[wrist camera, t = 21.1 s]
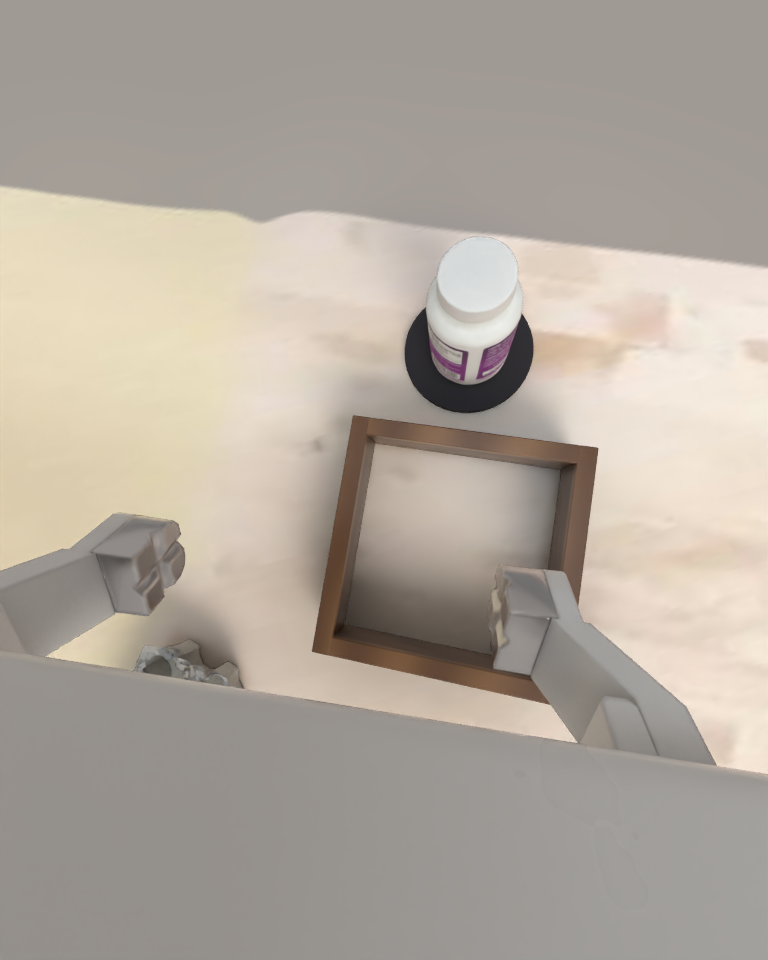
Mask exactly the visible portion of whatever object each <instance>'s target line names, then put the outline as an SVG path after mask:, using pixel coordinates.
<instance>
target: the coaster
mask: <svg viewBox="0 0 768 960" xmlns="http://www.w3.org/2000/svg"><path fill="white" fill-rule="evenodd" d="M532 358H533V338H532V334H531V330H530V328H529V325H528V323H527V321H526V319H525V318H524V316H523V315H522V314H521V318H520V320H519V323H518V326H517V329H516V332H515V335H514V338H513V341H512V344H511V347H510V349H509V352H508V355H507V358H506V360H505V362H504V364H503V366H502V367H501V369H500V370H499V371H498V372H497V373H496V374H495V375H494V376H493V377H491V378H490V379H488V380H486V381H484V382H481V383H478V384H472V385H463V384H459V383H456V382H453V381H451V380H449V379H447V378H446V377H444V376H443V375H442V374H441V373H440V372H439V371H438V369H437V368H436V366H435V364H434V362H433V359H432V355H431V349H430V340H429V331H428V321H427V314H426V308H424V309H423V310H422V311H421V313H420V314H419V315H418V316H417V318H416V319H415V321H414V322H413V324H412V326H411V328H410V330H409V333H408V336H407V339H406V345H405V362H406V366H407V371H408V373H409V376H410V378H411V380H412V382H413V384H414V386H415V387H416V388H417V390H418V391H419V392H420V393H421V394H422V395H423V396H424V397H425V398H426V399H427V400H429V401H430V402H432V403H433V404H435V405H437V406H439V407H441V408H443V409H446V410H450V411H454V412H461V413H471V412H479V411H483V410H487V409H490V408H492V407H495V406H497V405H499V404H501V403H502V402H504V401H505V400H507V399H508V398H509V397H510V396H512V395H513V394H514V393H515V392H516V391H517V389H518V388H519V387H520V386H521V384H522V383H523V381H524V380H525V378H526V376H527V374H528V372H529V369H530V366H531V363H532Z"/></svg>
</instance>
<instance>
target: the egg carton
mask: <svg viewBox="0 0 768 960" xmlns="http://www.w3.org/2000/svg"><path fill="white" fill-rule="evenodd" d="M199 649H200V646H199V645H198V644H197V643H195V642H193V641H192V640H190V639H188V640H186V641H184V642H182V643H180V644H178V645H175V646H168V647H165V648H161V647H156V646H151V645H145V646H144V647H143V650H142V652H141V654H140V656H139V658H138V660H137V662H136V667H135V669H134V670H133V671H135V672H141V673H148V674H154V675H160V676H166V677H172V678H179V679H185V680H191V681H197V682H203V683H209V684H216V685H222V686H228V687H234V688H240V689H244V688H243V687H242V685H241V684H240V681H239V678H238V675H239V671H238V667H236V666H235V665H233V664H231V663H230V662H229V661H227V662H226V663H225V664H223V665H222V666H220V667H218V668H216V669H211V668H208V667H207V666H206V665H204V664H203V662H202V659H201V658H200V654H199Z"/></svg>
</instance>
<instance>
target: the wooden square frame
mask: <svg viewBox="0 0 768 960" xmlns="http://www.w3.org/2000/svg"><path fill="white" fill-rule="evenodd" d="M375 443H377V444H384V445H391V446H398V447H405V448H412V449H419V450H426V451H433V452H440V453H447V454H454V455H461V456H468V457H475V458H482V459H489V460H496V461H503V462H511V463H518V464H525V465H532V466H539V467H546V468H553V469H560V470H561V469H562V470H561V477H560V485H559V492H558V500H557V507H556V514H555V522H554V529H553V537H552V544H551V551H550V559H549V566H548V570H555V571H563V572H564V573H565V574H566V575H567V578H568V581H569V584H570V586H571V589H572V592H573V594H574V597H575V600H576V602H577V605H578V603H579V595H580V587H581V579H582V572H583V564H584V556H585V548H586V541H587V533H588V525H589V517H590V510H591V502H592V494H593V487H594V479H595V471H596V463H597V456H598V448H596V447H588V446H579V445H573V444H565V443H558V442H550V441H542V440H535V439H527V438H520V437H512V436H505V435H497V434H490V433H482V432H475V431H467V430H460V429H452V428H444V427H437V426H429V425H422V424H414V423H407V422H399V421H392V420H384V419H377V418H369V417H362V416H355V415H353V419H352V424H351V430H350V436H349V442H348V447H347V453H346V459H345V465H344V470H343V476H342V482H341V487H340V493H339V499H338V505H337V510H336V516H335V522H334V528H333V533H332V539H331V545H330V551H329V556H328V562H327V568H326V573H325V579H324V585H323V591H322V596H321V602H320V608H319V614H318V619H317V625H316V631H315V636H314V642H313V648H312V652H316V653H320V654H325V655H330V656H334V657H339V658H343V659H348V660H352V661H357V662H361V663H365V664H370V665H374V666H379V667H383V668H388V669H392V670H397V671H401V672H406V673H410V674H415V675H419V676H424V677H428V678H433V679H437V680H442V681H446V682H451V683H455V684H460V685H464V686H469V687H473V688H478V689H482V690H487V691H491V692H496V693H500V694H505V695H509V696H513V697H518V698H522V699H527V700H531V701H536V702H540V703H545V704H549V705H550V703H549V702H548V701H547V699H546V698H545V696H544V695H543V694H542V692H541V691H540V689H539V688H538V687H537V685H536V684H535V683H534V681H533V680H532V678H531V675H526V674H521V673H515V672H510V671H504V670H498V669H493V661H492V655H487V654H483V653H478V652H473V651H468V650H464V649H459V648H454V647H449V646H445V645H440V644H435V643H430V642H426V641H421V640H416V639H411V638H407V637H402V636H397V635H392V634H388V633H383V632H378V631H373V630H369V629H364V628H359V627H354V626H350V625H344V623H345V617H346V611H347V605H348V600H349V594H350V588H351V582H352V576H353V570H354V564H355V558H356V552H357V547H358V541H359V535H360V529H361V523H362V517H363V511H364V505H365V499H366V493H367V488H368V482H369V476H370V470H371V464H372V458H373V452H374V446H375Z"/></svg>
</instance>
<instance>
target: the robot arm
mask: <svg viewBox="0 0 768 960" xmlns="http://www.w3.org/2000/svg"><path fill="white" fill-rule="evenodd" d="M180 535H181V532H180V528H179V524H178V523H177V522H175V521H173V520H167V519H160V518H154V517H148V516H141V515H133V514H127V513H115V514H112V515H111V516H110V517H109V518H107V519H106V520H105V521H104V522H102V523H101V524H100V525H99V526H97V527H96V528H95V529H94V530H93V531H91V532H90V533H89V534H88V535H86V536H85V537H84V538H83V539H81V540H80V541H79V542H78V543H76V544H75V545H74V546H73V547H71V548H70V549H69V550H68V549H61V550H58V551H55V552H52V553H50V554H47V555H44V556H41V557H38V558H36V559H33V560H30V561H27V562H24V563H21V564H19V565H16V566H13V567H10V568H7V569H4V570H2V571H0V960H768V774H763V773H757V772H751V771H745V770H739V769H732V768H726V767H720V766H717V765H716V763H715V761H714V759H713V757H712V755H711V754H710V752H709V750H708V748H707V746H706V744H705V742H704V740H703V738H702V736H701V734H700V732H699V730H698V728H697V726H696V724H695V723H694V721H693V719H692V717H691V715H690V713H689V711H688V709H687V707H686V706H685V705H684V704H683V703H681V702H680V701H679V700H678V699H677V698H676V697H675V696H673V695H672V694H671V693H670V692H669V691H668V690H666V689H665V688H664V687H663V686H662V685H661V684H660V683H658V682H657V681H656V680H655V679H654V678H653V677H652V676H650V675H649V674H648V673H647V672H646V671H645V670H643V669H642V668H641V667H640V666H639V665H638V664H637V663H635V662H634V661H633V660H632V659H631V658H630V657H628V656H627V655H626V654H625V653H624V652H623V651H622V650H620V649H619V648H618V647H617V646H616V645H615V644H614V643H612V642H611V641H610V640H609V639H608V638H607V637H605V636H604V635H603V634H602V633H601V632H600V631H599V630H597V629H596V628H595V627H594V626H593V625H592V624H590V623H584V621H583V618H582V616H581V613H580V610H579V608H578V605H577V602H576V600H575V597H574V594H573V592H572V589H571V586H570V584H569V581H568V578H567V575H566V574H565V573H564V572H563V571H555V570H545V569H541V570H540V569H532V568H524V567H517V566H509V565H501V564H499V566H498V568H497V571H496V575H495V581H496V588H495V589H493V590H492V591H491V595H490V600H489V607H488V626H489V630H490V631H491V633H492V634H493V637H492V641H491V653H492V661H493V669H498V670H504V671H510V672H515V673H521V674H526V675H531V678H532V680H533V681H534V683H535V684H536V685H537V687H538V688H539V689H540V691H541V692H542V694H543V695H544V696H545V698H546V699H547V701H548V702H549V703H550V705H551V706H552V707H553V709H554V710H555V712H556V713H557V714H558V716H559V717H560V719H561V720H562V721H563V723H564V724H565V725H566V727H567V728H568V730H569V731H570V732H571V734H572V735H573V737H574V738H575V739H576V741H577V742H578V743H572V742H566V741H560V740H554V739H548V738H542V737H536V736H529V735H523V734H517V733H511V732H505V731H499V730H492V729H486V728H480V727H474V726H468V725H462V724H456V723H449V722H443V721H437V720H431V719H425V718H419V717H412V716H406V715H400V714H394V713H388V712H382V711H376V710H369V709H363V708H357V707H351V706H345V705H339V704H332V703H326V702H320V701H314V700H308V699H302V698H296V697H289V696H283V695H277V694H271V693H265V692H259V691H253V690H246V689H240V688H234V687H228V686H222V685H216V684H209V683H203V682H197V681H191V680H185V679H179V678H172V677H166V676H160V675H154V674H148V673H141V672H135V671H129V670H123V669H117V668H111V667H104V666H98V665H92V664H86V663H80V662H74V661H67V660H61V659H55V658H49V657H45V656H47V655H48V654H50V653H52V652H53V651H55V650H57V649H58V648H60V647H61V646H63V645H65V644H66V643H68V642H70V641H71V640H73V639H75V638H76V637H78V636H80V635H81V634H83V633H85V632H86V631H88V630H89V629H91V628H93V627H94V626H96V625H98V624H99V623H101V622H103V621H104V620H106V619H108V618H109V617H111V616H113V615H114V614H115V612H118V613H126V614H134V615H143V616H149V615H150V614H151V613H152V612H153V610H154V609H155V608H156V607H157V605H158V604H159V603H160V602H161V600H162V599H163V598H164V597H165V596H164V589H165V588H167V587H169V586H171V585H173V584H175V583H176V581H177V580H178V579H179V577H180V576H181V574H182V571H183V568H184V566H185V552H184V548H183V547H182V546H181V545H180V544H179V542H178V541H177V539H178V538H179V537H180Z"/></svg>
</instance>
